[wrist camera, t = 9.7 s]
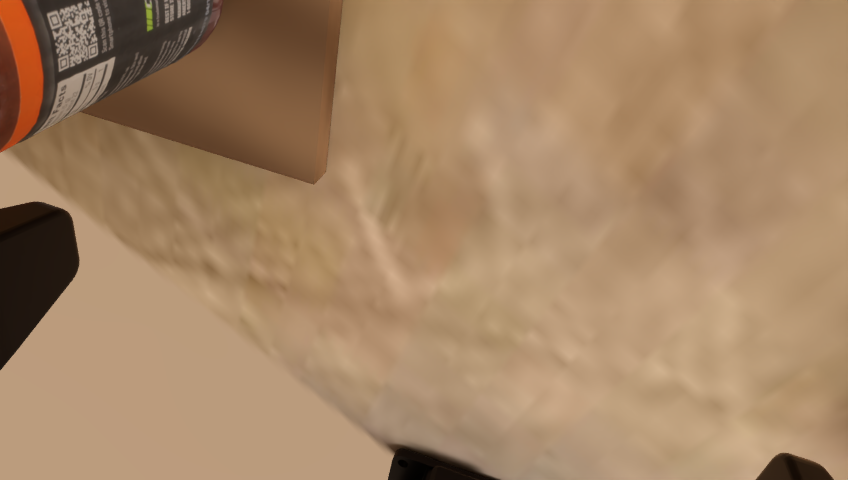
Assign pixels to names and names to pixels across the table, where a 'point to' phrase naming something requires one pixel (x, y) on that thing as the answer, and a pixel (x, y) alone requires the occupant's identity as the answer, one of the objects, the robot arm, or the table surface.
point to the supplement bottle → (87, 53)
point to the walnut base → (247, 88)
